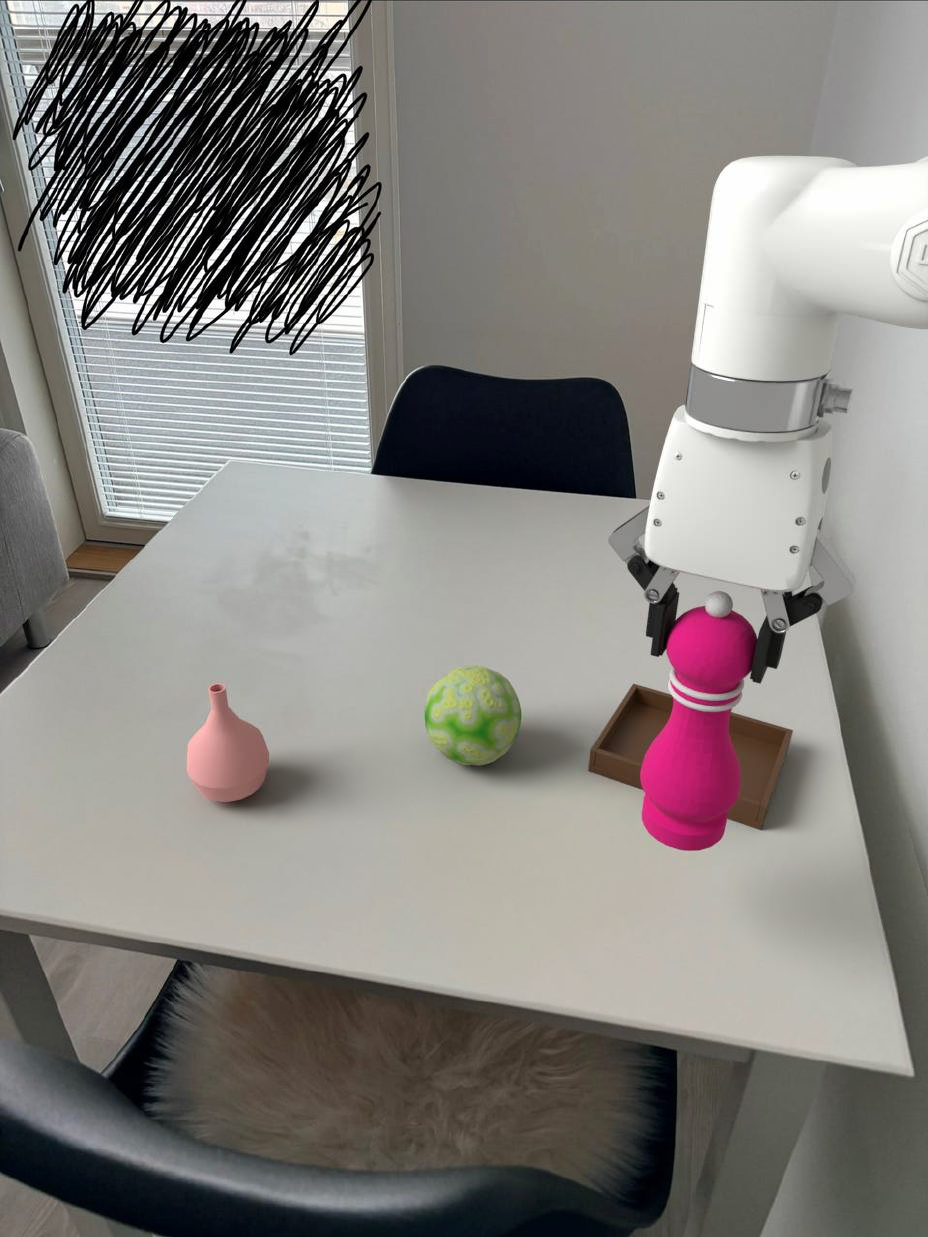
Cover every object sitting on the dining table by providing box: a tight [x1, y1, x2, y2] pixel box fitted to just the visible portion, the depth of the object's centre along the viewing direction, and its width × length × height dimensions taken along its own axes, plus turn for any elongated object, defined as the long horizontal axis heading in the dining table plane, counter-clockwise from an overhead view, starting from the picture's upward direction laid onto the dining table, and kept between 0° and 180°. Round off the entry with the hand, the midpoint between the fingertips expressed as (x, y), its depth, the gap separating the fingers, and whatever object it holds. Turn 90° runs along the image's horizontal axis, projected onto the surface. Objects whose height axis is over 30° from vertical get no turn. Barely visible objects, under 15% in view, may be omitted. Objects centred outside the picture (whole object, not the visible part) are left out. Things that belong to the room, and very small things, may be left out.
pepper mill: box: [640, 590, 758, 852], centre depth 62 cm, size 7×7×20 cm
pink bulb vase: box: [185, 682, 270, 803], centre depth 82 cm, size 8×8×12 cm
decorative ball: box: [424, 665, 522, 766], centre depth 88 cm, size 10×10×10 cm
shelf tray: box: [587, 683, 794, 831], centre depth 89 cm, size 17×13×3 cm
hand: (709, 657), depth 59 cm, fingers closed on pepper mill, 6 cm apart
